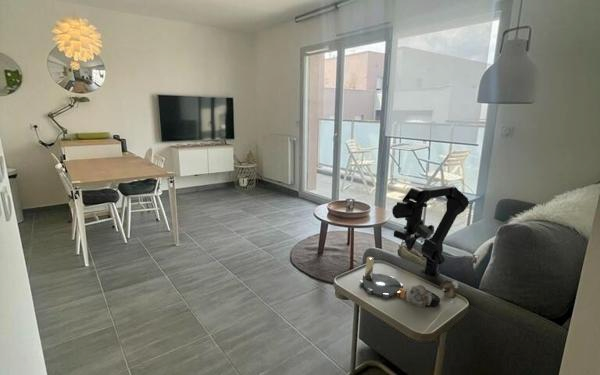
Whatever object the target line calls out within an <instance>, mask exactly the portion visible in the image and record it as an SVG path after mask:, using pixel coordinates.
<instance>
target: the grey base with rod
mask: <svg viewBox="0 0 600 375" xmlns="http://www.w3.org/2000/svg"><path fill="white" fill-rule="evenodd" d="M365 262H366V263H365V272H364V274H363V275H362V279H360V280H359V286H360V287H361V288H363V289H364V291H366V293H367V294H369V295H373V296H376V297H380V298H382V299H387V300H388V299H389V298H394V297H398V298H400V295H401V290H400V288H402V289H404V284H403V283H402V282H399V281H398V280H397V279H396V277H395V276H393V275H387V274H384V273H380V272H375V273H373V271H374V264H375V258H374V257H372V256H367V257H366V261H365Z"/></svg>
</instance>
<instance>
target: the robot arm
mask: <svg viewBox="0 0 600 375" xmlns="http://www.w3.org/2000/svg"><path fill="white" fill-rule="evenodd" d="M440 197H441V198H442V197H444V198H445V199H446V200H447V201H446V203H445V208H446V210H445V213H444V215H443V216H442V218H441V220H440V222H439V223H438V226H437V227H436V230H435V226H434V225H432V224H430V225H427V224H426V225H425V224H424V222H425V221H424V219H422V217H423V210H424V208H427V207H428V205H427V202H429V201H430V200H431V199H434V198H440ZM469 203H470V202H469V198H468V197H467V196H466V195H464V193H462V192H461V191H460V190H459V189H458V188H457V187H456V186H454V185H452V184H446V185H445V184H444V185H441V186H433V187H422V186H421V187H420V186H412V187H411V188H410V189H409V190H408V192H407V193H406V195H405V196H404V197H403V198H402V200H401V201H397V202H396V204H395V205H394V206H393V207H392V209H391V211H392V212H391V213H392V215H393V217H394V218H395V219H404V220H405V221H406V224H405V226H403V229H402V228H400V229H396V230H394V231H393V237H394V238H397V239H399V240H402V241H403V242H404V243H405V246H406V249H407V250H408V251H409V252H410V251H412V249H413V247H414V245H415V243H416V241H417V240H418V239H421V238H422V239H424V241H423V243H422V245H421V248H420V251H421V255H422V258H425V263H424V264H425V265H424V267H423V268H422V269H421V272H422V273H423V274H427V275H429V276H432V277H436V276H438V275H439V274H440V273H441V271H440V270H439V265H442V264H444V262H445V261H446V258H445V257H444V256H443V254H442V253H443V250H444V247H443V243H444V241H445V239H446V237H447V235H448V233H449V232H450V230H451V228H452V226H453V225H454V222H455V221H456V219H457V217H458V215H460V214H462V213H464V212H465V210H466V209H467V207H468V206H469V205H470V204H469Z"/></svg>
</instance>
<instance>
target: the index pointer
mask: <svg viewBox="0 0 600 375" xmlns="http://www.w3.org/2000/svg"><path fill="white" fill-rule="evenodd" d="M400 290H401V295H400V296H399V298H402V299H406V297H407V291H408V289H405V288H403V289H402V288H400Z"/></svg>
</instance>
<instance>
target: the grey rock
mask: <svg viewBox="0 0 600 375" xmlns="http://www.w3.org/2000/svg"><path fill="white" fill-rule="evenodd" d="M440 301H441V298H440V297H439V296H438V295H437V294H436V293H434V292H432V291H430V290H428V289H426V287H424V285H421V284H418V285H416V286H414V285H412V287H411V288H410V291H409V293H408V296H407V298H406V302H407V303H409V304H411V305H414V306H417V307H420V308H424V309H425V308H426V306H432V307H438V306H439V305H440V303H441V302H440Z"/></svg>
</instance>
